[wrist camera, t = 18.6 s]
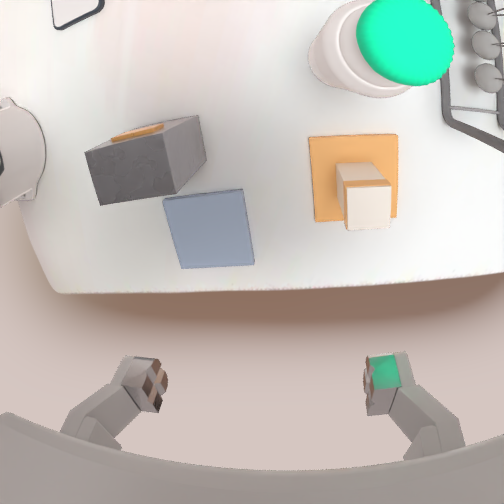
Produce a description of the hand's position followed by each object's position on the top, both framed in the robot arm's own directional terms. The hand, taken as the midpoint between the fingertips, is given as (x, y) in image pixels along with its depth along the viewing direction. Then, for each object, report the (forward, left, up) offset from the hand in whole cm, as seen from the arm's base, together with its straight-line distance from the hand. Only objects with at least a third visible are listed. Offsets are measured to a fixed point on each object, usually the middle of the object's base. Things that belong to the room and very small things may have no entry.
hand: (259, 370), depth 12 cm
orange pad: (+9, -3, -32) cm, 33 cm away
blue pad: (-11, -9, -32) cm, 35 cm away
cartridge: (+9, -3, -31) cm, 32 cm away
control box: (-14, +4, -32) cm, 35 cm away
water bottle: (+8, +12, -32) cm, 35 cm away
